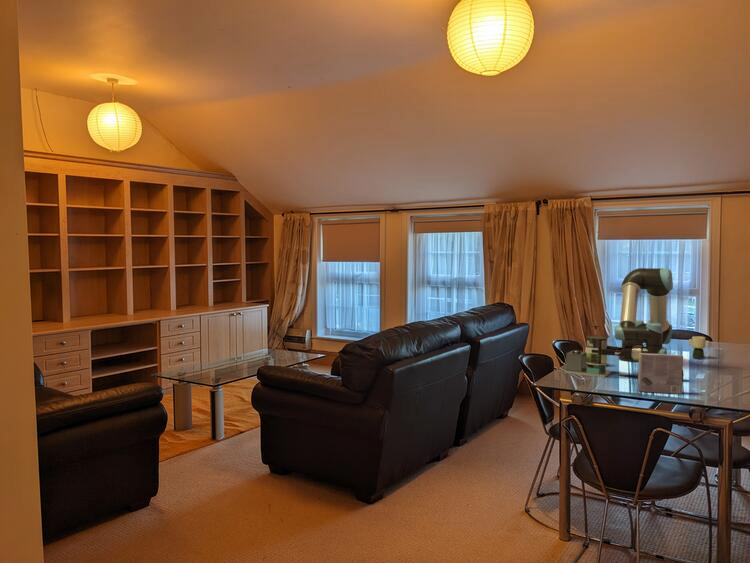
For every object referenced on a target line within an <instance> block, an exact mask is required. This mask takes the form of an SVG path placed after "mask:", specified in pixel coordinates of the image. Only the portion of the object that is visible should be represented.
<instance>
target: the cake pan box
mask: <svg viewBox="0 0 750 563" xmlns="http://www.w3.org/2000/svg"><path fill="white" fill-rule="evenodd" d="M683 367H684V355H682V354H667V355H666V354H648V353H639V362H638V366H637V368H638V370H637V390H638V391H639V393H656V394H673V393H676V394H677V395H682V394H683V380H684V373H685V372H684V369H683Z"/></svg>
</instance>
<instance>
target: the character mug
mask: <svg viewBox="0 0 750 563" xmlns="http://www.w3.org/2000/svg"><path fill="white" fill-rule="evenodd" d="M688 345H690V346H691V348H693V352H692V358H694V359H700V358H702V359H705V352H704V349H705V348H706V347H709V346H710V341H709V340H706V337H705V336H696V335H695V336H692V337H691V338H689V339H688Z"/></svg>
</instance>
